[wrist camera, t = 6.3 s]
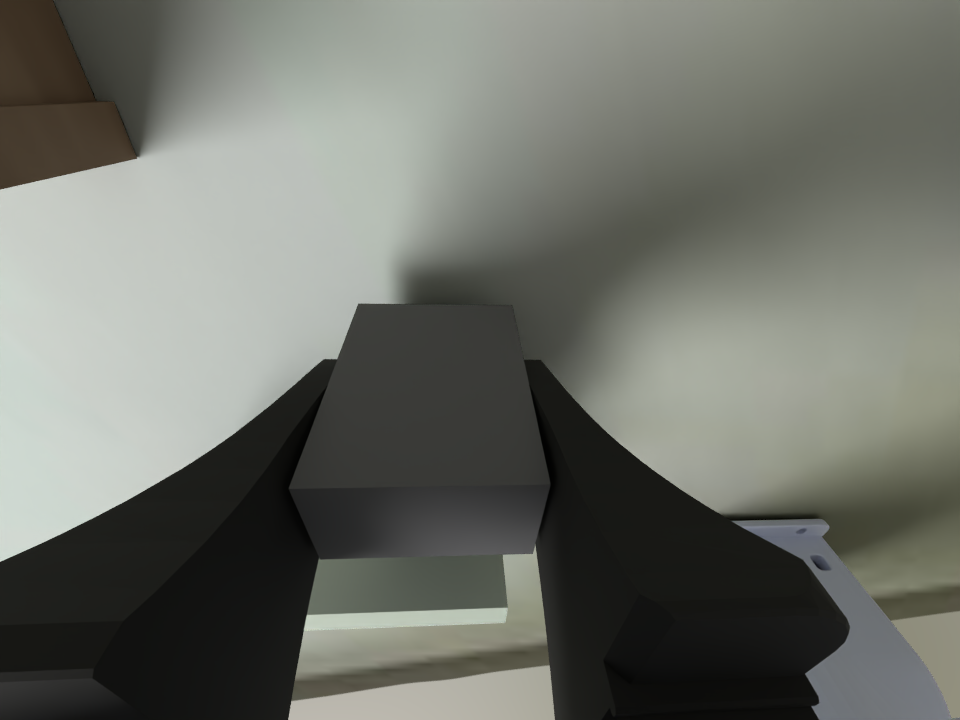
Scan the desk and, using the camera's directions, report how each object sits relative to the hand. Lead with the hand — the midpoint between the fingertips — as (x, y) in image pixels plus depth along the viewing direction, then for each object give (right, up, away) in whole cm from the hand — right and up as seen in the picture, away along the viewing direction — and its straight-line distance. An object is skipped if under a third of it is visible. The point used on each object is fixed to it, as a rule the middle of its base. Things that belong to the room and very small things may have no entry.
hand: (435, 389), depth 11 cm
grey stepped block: (0, 0, +3) cm, 3 cm away
